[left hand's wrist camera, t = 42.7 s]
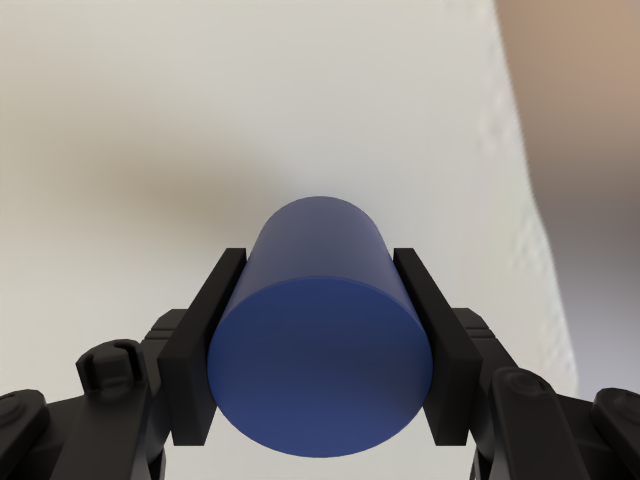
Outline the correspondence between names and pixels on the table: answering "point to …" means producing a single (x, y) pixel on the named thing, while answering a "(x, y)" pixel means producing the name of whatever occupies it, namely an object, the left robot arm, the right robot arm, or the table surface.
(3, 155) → the table surface
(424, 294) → the left robot arm
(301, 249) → the can
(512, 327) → the table surface
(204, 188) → the table surface
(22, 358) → the table surface
